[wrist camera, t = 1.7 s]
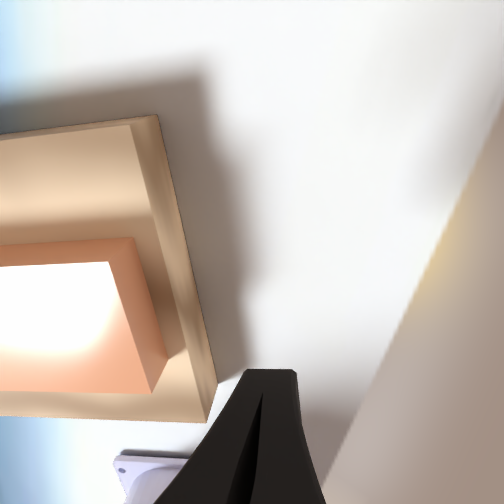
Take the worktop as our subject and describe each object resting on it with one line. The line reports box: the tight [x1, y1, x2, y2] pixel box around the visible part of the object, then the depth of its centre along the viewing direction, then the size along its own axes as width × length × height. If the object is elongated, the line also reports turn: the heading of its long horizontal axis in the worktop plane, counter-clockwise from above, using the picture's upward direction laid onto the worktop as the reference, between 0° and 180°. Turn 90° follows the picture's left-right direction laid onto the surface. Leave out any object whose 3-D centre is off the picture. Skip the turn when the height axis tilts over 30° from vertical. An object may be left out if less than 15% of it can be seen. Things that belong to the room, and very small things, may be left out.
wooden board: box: [0, 115, 218, 423], centre depth 18 cm, size 14×12×2 cm
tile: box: [0, 237, 169, 394], centre depth 16 cm, size 6×9×2 cm, turn 97°
